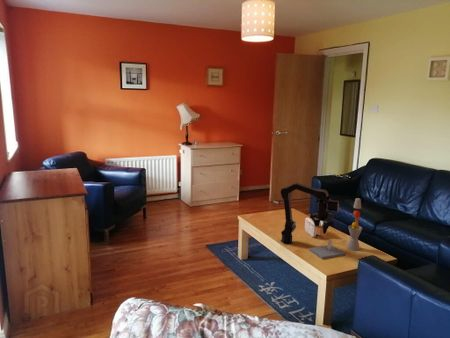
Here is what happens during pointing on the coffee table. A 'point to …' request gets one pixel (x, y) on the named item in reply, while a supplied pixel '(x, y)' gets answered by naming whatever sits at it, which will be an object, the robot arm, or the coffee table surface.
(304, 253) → the coffee table surface
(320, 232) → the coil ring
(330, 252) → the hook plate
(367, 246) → the coffee table surface
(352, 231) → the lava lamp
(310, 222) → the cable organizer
